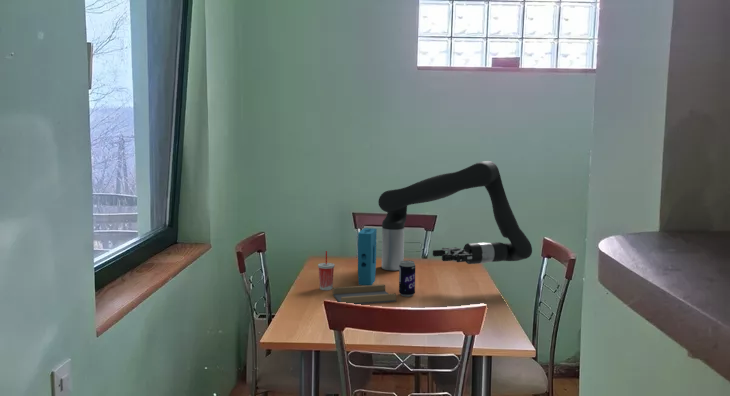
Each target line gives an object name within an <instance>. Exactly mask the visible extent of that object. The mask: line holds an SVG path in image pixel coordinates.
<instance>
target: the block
mask: <svg viewBox="0 0 730 396" xmlns="http://www.w3.org/2000/svg"><path fill="white" fill-rule="evenodd" d="M377 233H378V232H377V228H372V227H371V228H370V227H369V228H368V227H364V228H363V229H361V230H360V231H359V232H358V233H357V238H358V239H357V278H358V279H357V281H358V286H368V285H374V283H375V281H376V272H377V271H376V269H377V268H376V267H377Z"/></svg>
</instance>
